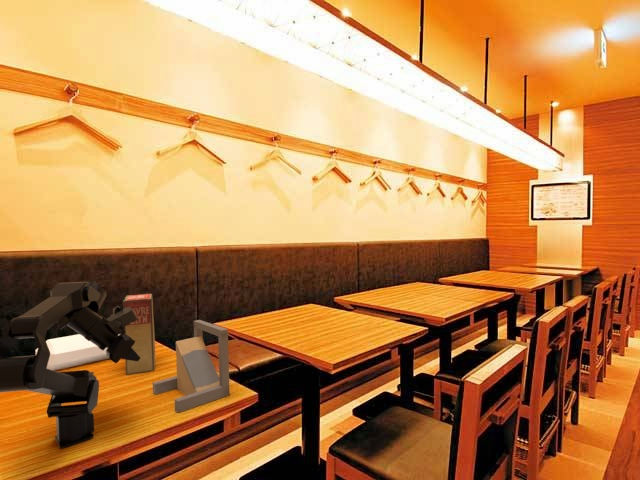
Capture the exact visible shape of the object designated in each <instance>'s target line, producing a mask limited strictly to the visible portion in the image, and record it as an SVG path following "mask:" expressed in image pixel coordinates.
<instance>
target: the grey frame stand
mask: <svg viewBox="0 0 640 480" xmlns="http://www.w3.org/2000/svg"><path fill="white" fill-rule="evenodd" d="M203 331H204V332H206V333H209V334H211V335H214V336H217V339H218V344H217V345H218V376H219V383H220V385H218V386H214V387H211V388H208V389H205V390H202V391H199V392H196V393H192V394H189V395H183V396H180V397H178V398H177V397H176V398H175V399H174V412H176V413H177V414H179V413H181V412H185V411H188V410H191V409H194V408H196V407H200V406H202V405H204V404H205V405H206V404H208V403H211V402H214V401H216V400H217V401H218V400H219V399H222V398H226V397H228V396H230V366H229V364H230V361H229V359H230V357H229V329H228V328H226V327H223V326H220V325H216V324H213V323H210V322H208V321H204V320H201V319H196V320H193V338H194V337H199V336H202V339H203V340H204V335H203V334H204V333H203ZM172 390H177V375H175V376H172V377H168V378H165V379H161V380H156V381H153V382H152V393H153V394H154V395H158V394H163V393H166V392H169V391H172Z"/></svg>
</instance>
